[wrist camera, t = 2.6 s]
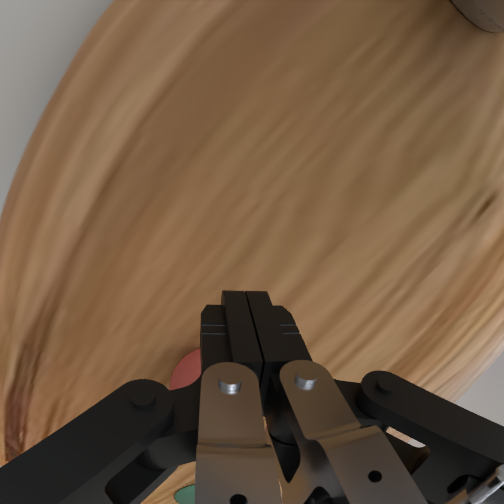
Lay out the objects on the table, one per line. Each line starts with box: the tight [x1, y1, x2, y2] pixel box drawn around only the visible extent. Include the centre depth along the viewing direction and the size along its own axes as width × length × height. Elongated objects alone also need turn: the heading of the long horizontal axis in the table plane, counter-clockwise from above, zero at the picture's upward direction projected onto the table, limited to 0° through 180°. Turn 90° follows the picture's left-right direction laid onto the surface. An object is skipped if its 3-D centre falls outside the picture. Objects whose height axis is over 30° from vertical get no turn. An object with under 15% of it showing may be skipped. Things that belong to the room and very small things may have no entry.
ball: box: [170, 349, 201, 390], centre depth 18 cm, size 6×6×6 cm
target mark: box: [175, 484, 195, 504], centre depth 32 cm, size 14×14×1 cm
